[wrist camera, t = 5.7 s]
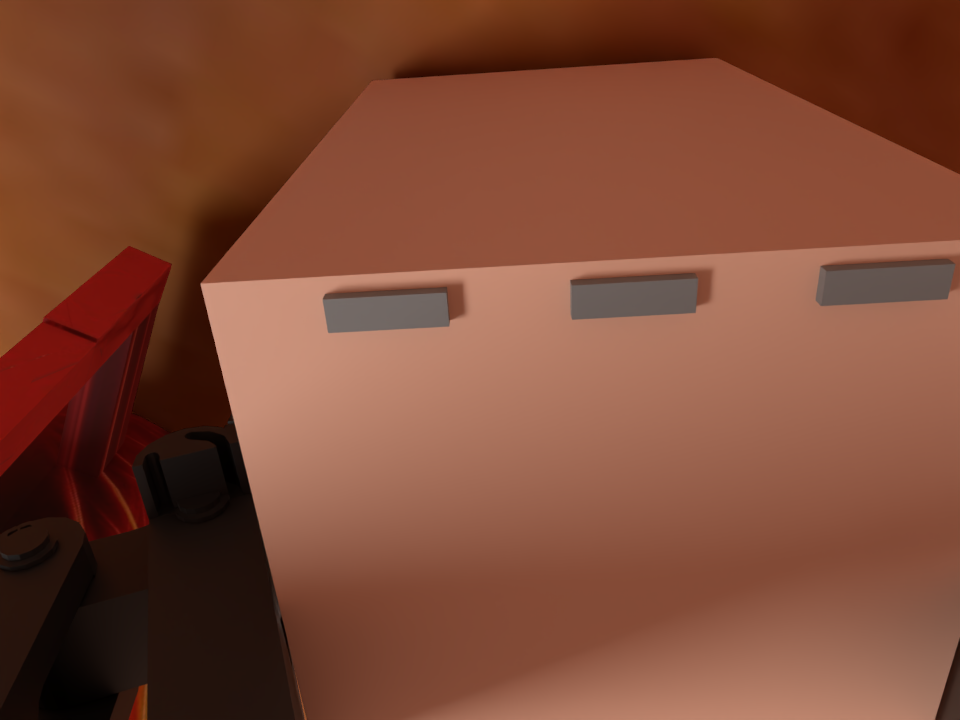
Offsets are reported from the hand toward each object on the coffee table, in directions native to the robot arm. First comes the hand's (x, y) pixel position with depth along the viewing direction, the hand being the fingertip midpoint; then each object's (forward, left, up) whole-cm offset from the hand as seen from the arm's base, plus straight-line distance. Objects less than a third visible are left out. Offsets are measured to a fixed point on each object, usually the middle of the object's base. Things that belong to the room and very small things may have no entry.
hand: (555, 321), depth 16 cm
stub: (-1, 0, -2) cm, 2 cm away
